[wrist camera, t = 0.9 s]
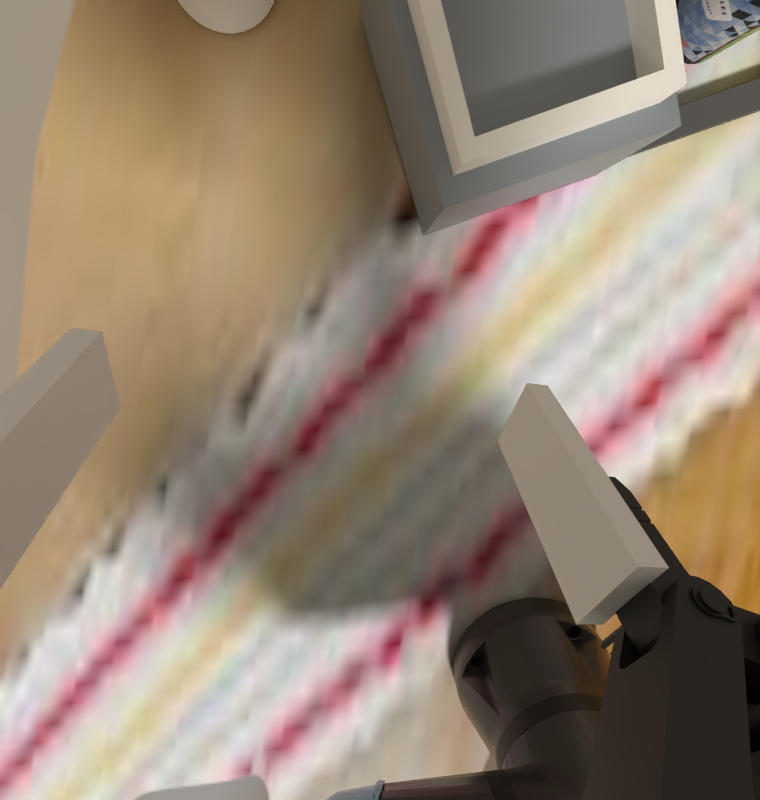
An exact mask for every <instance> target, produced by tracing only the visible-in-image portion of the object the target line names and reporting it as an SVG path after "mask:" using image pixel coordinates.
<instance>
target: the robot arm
mask: <svg viewBox="0 0 760 800" xmlns="http://www.w3.org/2000/svg"><path fill="white" fill-rule="evenodd" d="M119 408H120V403H119V399H118V395H117V391H116V387H115V383H114V379H113V375H112V371H111V367H110V363H109V358H108V354H107V350H106V346H105V342H104V338H103V334H102V331H94V330H85V329H77V328H71V329H70V330H69V331H68V332H67V333H66V334H65V335H64V336H62V337H61V338H60V339H59V340H58V341H57V342H56V343H55V344H54V345H53V346H52V347H51V348H50V349H49V350H48V351H47V352H46V353H45V354H44V355H42V356H41V357H40V358H39V359H38V360H37V361H36V362H35V363H34V364H33V365H32V366H31V367H30V368H29V369H28V370H27V371H26V372H25V373H24V374H22V375H21V376H20V377H19V378H18V379H17V380H16V381H15V382H14V383H13V384H12V385H11V386H10V387H9V388H8V389H7V390H6V391H5V392H4V393H3V394H2V395H0V589H1V587H2V586H3V584H4V583H5V581H6V580H7V578H8V577H9V575H10V574H11V572H12V571H13V569H14V567H15V566H16V564H17V563H18V561H19V560H20V558H21V557H22V555H23V554H24V552H25V551H26V549H27V548H28V546H29V545H30V543H31V542H32V540H33V539H34V537H35V536H36V534H37V532H38V531H39V529H40V528H41V526H42V525H43V523H44V522H45V520H46V519H47V517H48V516H49V514H50V513H51V511H52V510H53V508H54V507H55V505H56V504H57V502H58V501H59V499H60V497H61V496H62V494H63V493H64V491H65V490H66V488H67V487H68V485H69V484H70V482H71V481H72V479H73V478H74V476H75V475H76V473H77V472H78V470H79V469H80V467H81V466H82V464H83V462H84V461H85V459H86V458H87V456H88V455H89V453H90V452H91V450H92V449H93V447H94V446H95V444H96V443H97V441H98V440H99V438H100V437H101V435H102V434H103V432H104V431H105V429H106V427H107V426H108V424H109V423H110V421H111V420H112V418H113V417H114V415H115V414H116V412H117V411H118V409H119ZM497 442H498V444H499V446H500V449H501V451H502V453H503V455H504V458H505V460H506V462H507V465H508V467H509V469H510V472H511V474H512V476H513V479H514V481H515V483H516V486H517V488H518V490H519V493H520V495H521V497H522V500H523V502H524V504H525V507H526V509H527V511H528V514H529V516H530V518H531V520H532V523H533V525H534V527H535V530H536V532H537V534H538V537H539V539H540V541H541V544H542V546H543V548H544V551H545V553H546V555H547V558H548V560H549V562H550V565H551V567H552V569H553V572H554V574H555V576H556V579H557V581H558V583H559V586H560V588H561V590H562V592H563V595H564V597H565V599H566V602H567V604H568V606H567V605H565V604H562V603H559V602H556V601H552V600H546V599H524V600H518V601H513V602H509V603H506V604H503V605H501V606H498V607H496V608H494V609H492V610H491V611H489V612H487V613H486V614H484V615H483V616H481V617H480V618H479V619H478V620H476V621H475V622H474V623H473V624H472V625H471V626H470V627H469V628H468V630H467V631H466V632H465V634H464V635H463V637H462V638H461V640H460V642H459V644H458V646H457V649H456V652H455V656H454V662H453V672H454V678H455V683H456V687H457V691H458V695H459V699H460V702H461V704H462V706H463V709H464V711H465V713H466V714H467V716H468V717H469V719H470V721H471V722H472V724H473V726H474V727H475V729H476V730H477V732H478V734H479V735H480V737H481V739H482V740H483V742H484V743H485V745H486V747H487V748H488V750H489V752H490V753H491V755H492V756H493V758H494V760H495V761H496V765H497V768H498V770H493V771H484V772H476V773H468V774H460V775H451V776H443V777H435V778H426V779H418V780H410V781H401V782H393V783H385V781H383V780H379V781H378V782H377V783H376V784H375V785H371V786H366V787H361V788H356V789H350V790H345V791H340V792H337V793H335V794H333V795H331V796H330V797H329V798H328V799H327V800H760V615H759V614H756V613H753V612H750V611H747V610H744V609H742V608H739V607H736V606H733V604H732V602H731V601H730V600H729V599H728V598H727V597H726V596H725V595H724V594H723V593H722V592H721V591H720V590H719V589H717V588H716V587H715V586H713V585H712V584H711V583H709V582H707V581H705V580H703V579H701V578H699V577H695V576H690V575H689V574H688V573H687V571H686V570H685V569H684V567H683V566H682V564H681V563H680V562H679V560H678V559H677V557H676V556H675V554H674V553H673V551H672V550H671V549H670V547H669V546H668V544H667V543H666V541H665V540H664V539H663V537H662V536H661V534H660V533H659V531H658V530H657V529H656V527H655V526H654V524H651V522H650V521H651V520H650V519H649V517H648V516H647V514H646V513H645V511H642V509H641V508H642V507H641V506H640V504H639V503H638V501H637V500H636V498H635V497H634V496H633V494H632V493H631V491H630V490H628V489H627V488H626V487H625V486H624V485H623V484H622V483H621V482H620V481H619V480H617V479H616V478H615V477H608V476H607V474H606V473H605V471H604V470H603V468H602V467H601V465H600V464H599V462H598V461H597V459H596V458H595V456H594V455H593V453H592V452H591V450H590V449H589V447H588V446H587V444H586V443H585V441H584V440H583V438H582V437H581V435H580V434H579V432H578V431H577V429H576V428H575V426H574V425H573V423H572V422H571V420H570V419H569V417H568V416H567V414H566V413H565V411H564V410H563V408H562V407H561V405H560V404H559V402H558V401H557V399H556V398H555V396H554V395H553V393H552V392H551V390H550V389H549V387H548V386H546V385H538V384H530V383H527V384H526V386H525V388H524V390H523V392H522V394H521V396H520V398H519V400H518V402H517V404H516V406H515V408H514V410H513V411H512V413H511V415H510V417H509V419H508V421H507V423H506V425H505V427H504V429H503V431H502V433H501V435H500V437H499V439H498V441H497ZM615 613H616V614H617V616H618V618H619V620H620V622H621V624H622V625H621V626H620V627H619V628H618V629H617V630H615V631H614V632H613V633H612V634H610V635H609V636H608V637H607V638H605V639H604V640H603V641H602V640H601V638H600V637H599V635H598V634H597V633H596V631H595V630H594V628H593V627H592V625H591V624H604V623H605V622H606V621H607V620H608V619H610V618H611V617H612V616H613V615H614V614H615ZM613 642H614V644H613V649H612V652H611V653H610V654H611V659H610V656H609V653H608V651H607V649H606V648H607V647H608V646H609V645H610V644H612V643H613ZM384 783H385V784H384Z"/></svg>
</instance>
